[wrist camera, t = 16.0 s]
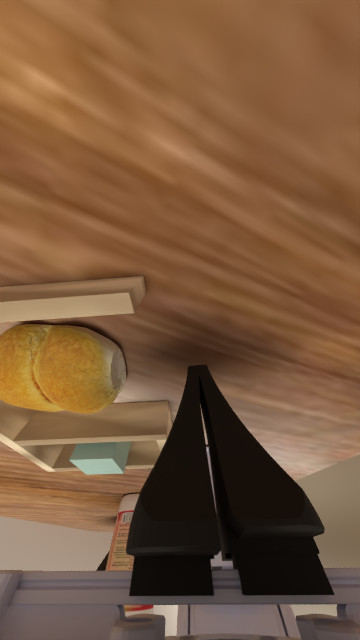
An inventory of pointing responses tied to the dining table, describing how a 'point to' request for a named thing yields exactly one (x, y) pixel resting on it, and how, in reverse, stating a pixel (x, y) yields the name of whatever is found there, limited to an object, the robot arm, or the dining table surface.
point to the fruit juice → (124, 548)
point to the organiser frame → (70, 427)
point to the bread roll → (59, 368)
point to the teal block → (101, 457)
